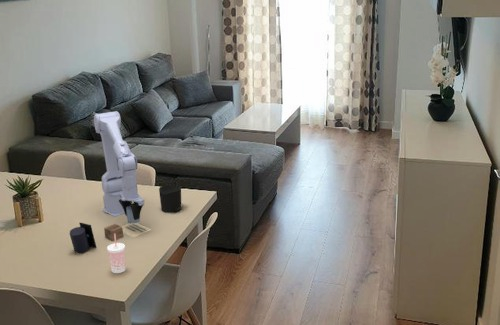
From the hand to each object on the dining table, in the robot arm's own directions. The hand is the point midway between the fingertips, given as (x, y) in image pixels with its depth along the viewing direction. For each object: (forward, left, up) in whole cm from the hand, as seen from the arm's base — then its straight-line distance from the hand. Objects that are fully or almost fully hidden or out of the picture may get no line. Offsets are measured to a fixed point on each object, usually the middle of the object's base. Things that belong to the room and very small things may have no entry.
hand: (132, 217), depth 221 cm
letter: (0, 0, -6) cm, 6 cm away
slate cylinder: (0, 0, -2) cm, 2 cm away
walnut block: (0, -9, -6) cm, 11 cm away
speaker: (0, -23, -6) cm, 24 cm away
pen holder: (-4, +23, -6) cm, 24 cm away
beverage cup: (+22, -23, -6) cm, 32 cm away
